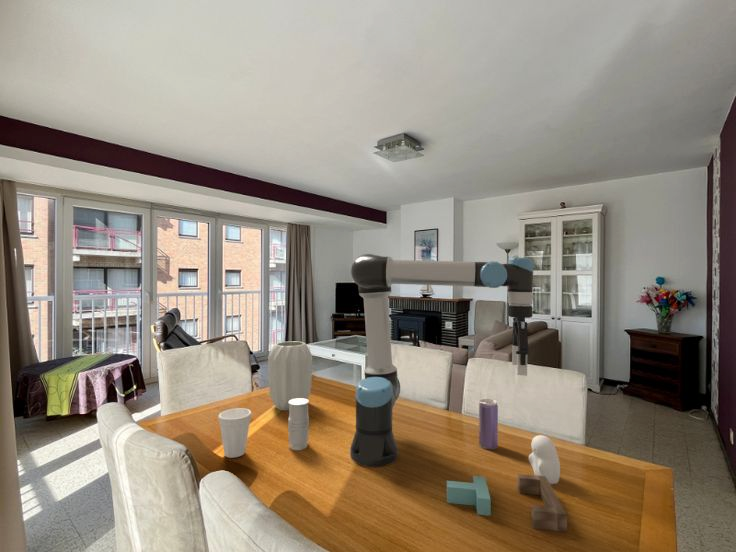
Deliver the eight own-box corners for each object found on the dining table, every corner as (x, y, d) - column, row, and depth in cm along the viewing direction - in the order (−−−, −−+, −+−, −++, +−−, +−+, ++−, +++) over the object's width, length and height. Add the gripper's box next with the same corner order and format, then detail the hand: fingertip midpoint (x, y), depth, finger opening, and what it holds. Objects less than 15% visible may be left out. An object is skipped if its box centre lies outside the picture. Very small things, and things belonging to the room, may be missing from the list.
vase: (308, 414, 154) (308, 348, 154) (261, 414, 154) (261, 347, 154) (315, 399, 174) (315, 340, 174) (273, 398, 174) (274, 339, 174)
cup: (211, 458, 117) (211, 416, 117) (232, 445, 126) (233, 406, 126) (237, 464, 113) (237, 421, 113) (257, 449, 123) (257, 410, 123)
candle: (283, 446, 125) (283, 401, 125) (300, 439, 130) (300, 396, 130) (296, 452, 121) (296, 406, 121) (313, 445, 126) (313, 401, 126)
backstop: (533, 528, 85) (533, 510, 85) (517, 488, 101) (517, 473, 101) (566, 531, 84) (567, 514, 84) (545, 491, 100) (545, 476, 100)
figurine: (526, 472, 109) (526, 431, 109) (551, 471, 110) (551, 430, 110) (539, 485, 102) (539, 441, 102) (565, 484, 103) (565, 440, 103)
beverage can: (498, 451, 122) (498, 405, 123) (479, 449, 124) (480, 404, 124) (496, 443, 128) (496, 399, 128) (478, 441, 130) (478, 398, 130)
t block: (447, 511, 91) (447, 494, 91) (446, 488, 101) (446, 473, 101) (490, 515, 89) (490, 499, 89) (484, 492, 99) (484, 477, 99)
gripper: (539, 308, 109) (538, 381, 109) (526, 302, 133) (525, 362, 133) (512, 307, 111) (511, 378, 111) (504, 302, 135) (503, 360, 135)
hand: (519, 369), depth 122 cm, fingers open, 13 cm apart
